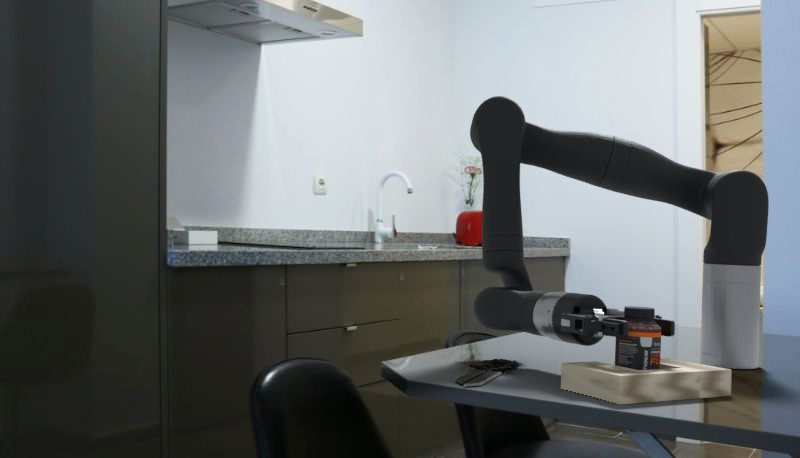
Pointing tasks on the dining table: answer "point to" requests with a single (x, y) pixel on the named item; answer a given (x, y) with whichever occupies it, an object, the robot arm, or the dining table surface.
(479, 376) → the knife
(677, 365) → the slot dock
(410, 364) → the dining table surface
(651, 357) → the supplement bottle
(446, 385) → the dining table surface
